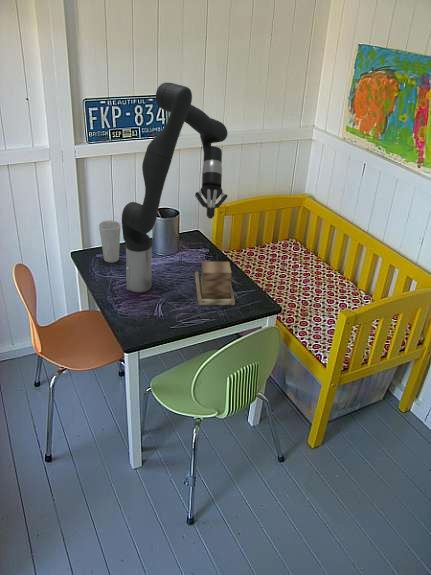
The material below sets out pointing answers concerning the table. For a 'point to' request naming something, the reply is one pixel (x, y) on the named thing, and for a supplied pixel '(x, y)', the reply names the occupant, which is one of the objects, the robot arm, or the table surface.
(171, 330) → the table surface
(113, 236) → the cup
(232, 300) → the tray
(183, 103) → the robot arm
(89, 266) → the table surface
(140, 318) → the table surface
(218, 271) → the brown wooden block
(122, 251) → the table surface
